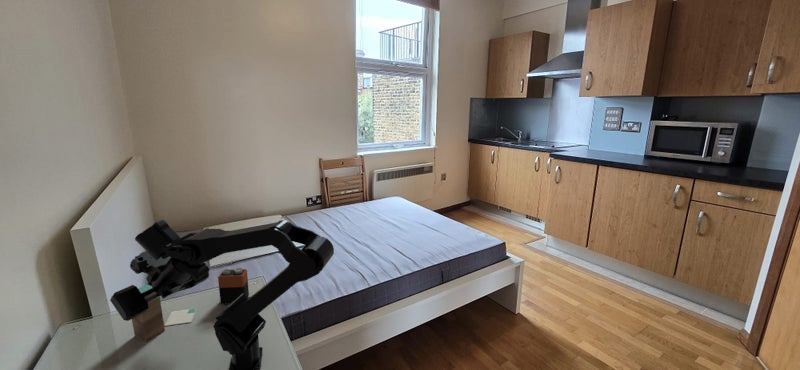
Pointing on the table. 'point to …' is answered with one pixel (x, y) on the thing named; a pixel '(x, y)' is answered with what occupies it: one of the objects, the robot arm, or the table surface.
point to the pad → (180, 317)
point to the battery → (232, 285)
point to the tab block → (149, 319)
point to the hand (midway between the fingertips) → (151, 301)
